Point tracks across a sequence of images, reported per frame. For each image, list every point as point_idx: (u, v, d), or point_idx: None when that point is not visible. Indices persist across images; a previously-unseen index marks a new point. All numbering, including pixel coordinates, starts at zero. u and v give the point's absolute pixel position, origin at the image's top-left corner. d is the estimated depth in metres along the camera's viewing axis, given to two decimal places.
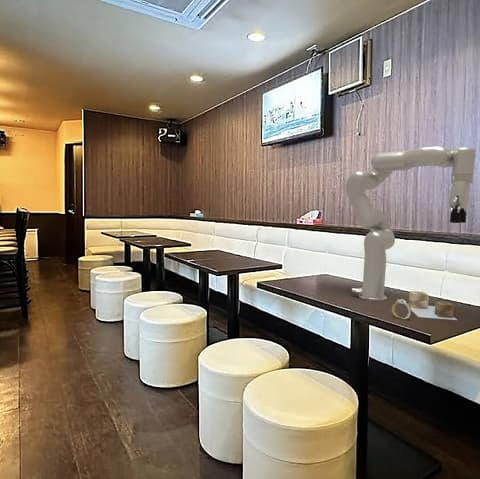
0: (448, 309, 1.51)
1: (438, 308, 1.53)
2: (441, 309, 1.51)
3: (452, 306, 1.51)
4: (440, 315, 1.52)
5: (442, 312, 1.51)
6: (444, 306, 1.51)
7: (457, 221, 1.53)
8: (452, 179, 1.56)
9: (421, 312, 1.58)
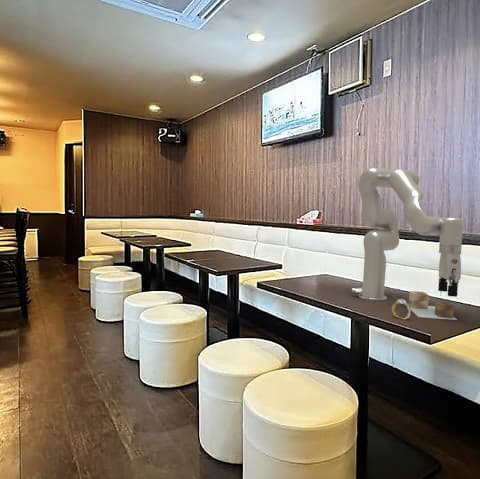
0: (448, 309, 1.51)
1: (438, 308, 1.53)
2: (441, 309, 1.51)
3: (452, 306, 1.51)
4: (440, 315, 1.52)
5: (442, 312, 1.51)
6: (444, 306, 1.51)
7: None
8: None
9: (421, 312, 1.58)
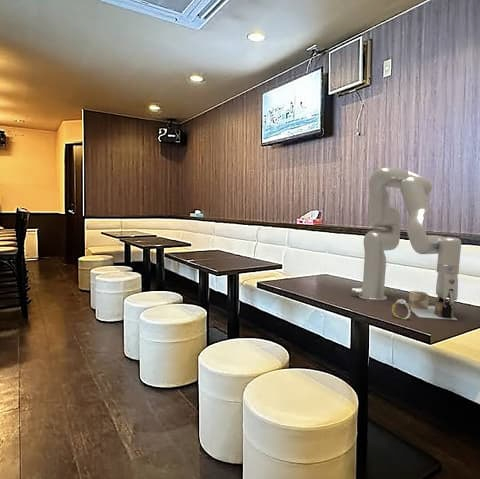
0: None
1: (438, 308, 1.53)
2: (441, 309, 1.51)
3: (452, 306, 1.51)
4: (440, 315, 1.52)
5: None
6: None
7: None
8: None
9: (421, 312, 1.58)
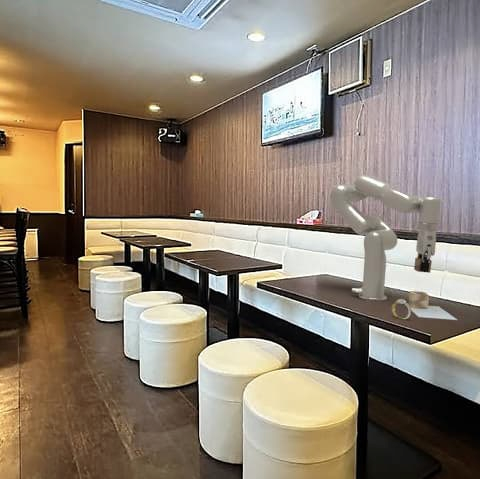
0: None
1: (417, 263, 1.63)
2: (419, 264, 1.62)
3: (430, 261, 1.61)
4: (418, 269, 1.62)
5: None
6: None
7: None
8: None
9: (421, 312, 1.58)
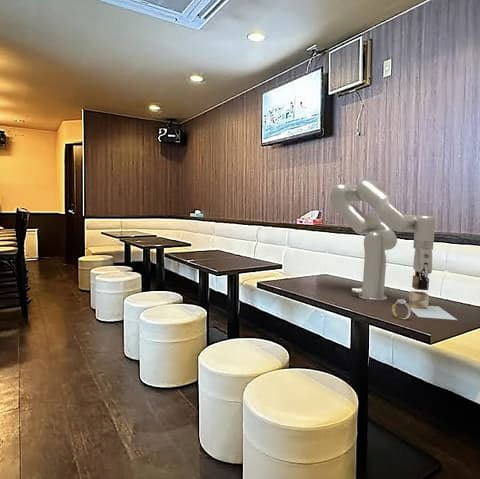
0: None
1: (415, 281, 1.65)
2: (417, 282, 1.63)
3: (427, 279, 1.63)
4: (417, 287, 1.63)
5: None
6: None
7: None
8: None
9: (421, 312, 1.58)
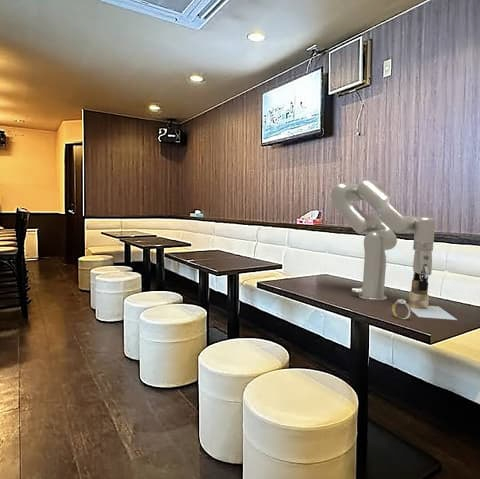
0: None
1: (414, 285, 1.65)
2: (416, 286, 1.63)
3: None
4: (416, 292, 1.64)
5: (417, 289, 1.64)
6: None
7: None
8: None
9: (421, 312, 1.58)
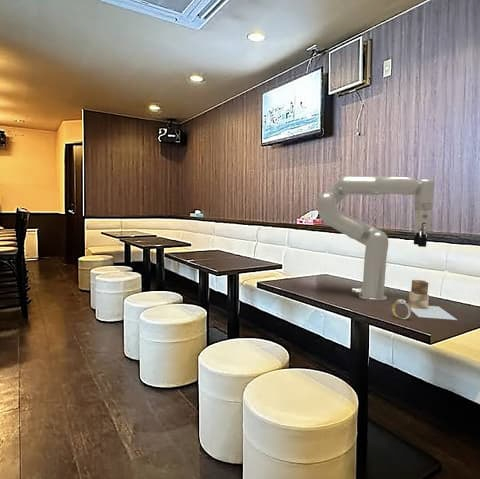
0: (423, 286, 1.63)
1: (414, 285, 1.65)
2: (416, 286, 1.63)
3: (427, 283, 1.63)
4: (416, 292, 1.64)
5: (417, 289, 1.64)
6: (419, 283, 1.63)
7: None
8: None
9: (421, 312, 1.58)
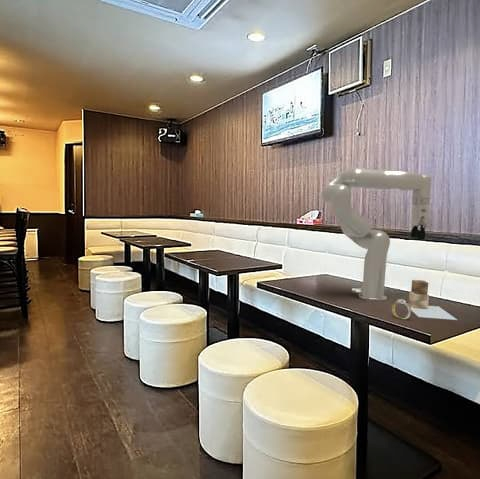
0: (423, 286, 1.63)
1: (414, 285, 1.65)
2: (416, 286, 1.63)
3: (427, 283, 1.63)
4: (416, 292, 1.64)
5: (417, 289, 1.64)
6: (419, 283, 1.63)
7: None
8: None
9: (421, 312, 1.58)
